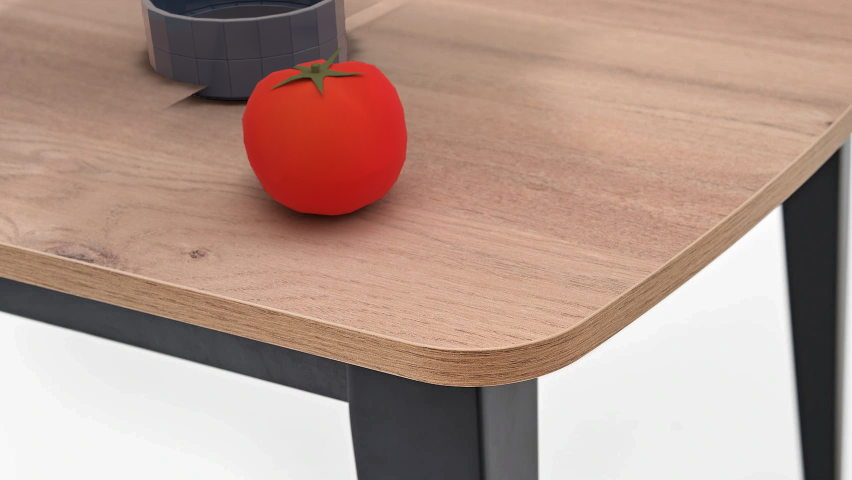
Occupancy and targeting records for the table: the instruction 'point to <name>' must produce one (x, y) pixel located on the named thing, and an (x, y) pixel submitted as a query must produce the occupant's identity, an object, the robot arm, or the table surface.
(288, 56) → the faceted grey ring
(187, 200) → the table surface
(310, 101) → the tomato
